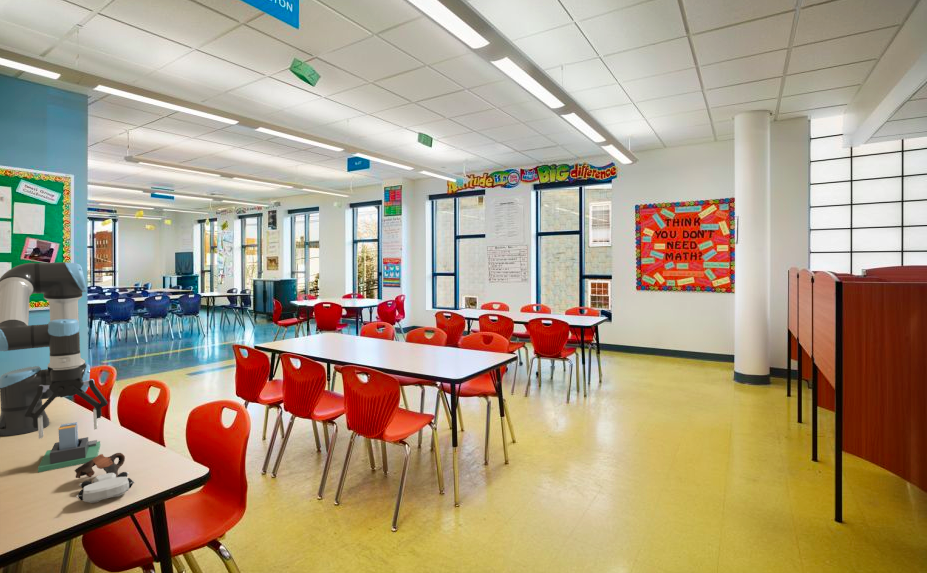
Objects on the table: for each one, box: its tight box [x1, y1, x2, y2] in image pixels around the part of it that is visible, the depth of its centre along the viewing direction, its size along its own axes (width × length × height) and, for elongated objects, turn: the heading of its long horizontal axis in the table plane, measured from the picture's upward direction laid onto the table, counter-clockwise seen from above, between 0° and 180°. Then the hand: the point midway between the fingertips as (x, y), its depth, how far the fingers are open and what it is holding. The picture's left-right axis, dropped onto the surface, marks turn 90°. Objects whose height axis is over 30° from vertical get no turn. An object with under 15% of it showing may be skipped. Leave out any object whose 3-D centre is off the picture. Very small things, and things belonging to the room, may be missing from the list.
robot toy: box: [76, 471, 136, 504], centre depth 128 cm, size 12×4×15 cm
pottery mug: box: [73, 452, 126, 480], centre depth 138 cm, size 12×10×8 cm
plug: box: [58, 421, 79, 450], centre depth 150 cm, size 6×4×10 cm, turn 34°
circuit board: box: [37, 436, 101, 473], centre depth 152 cm, size 16×14×5 cm
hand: (69, 432), depth 150 cm, fingers open, 13 cm apart
